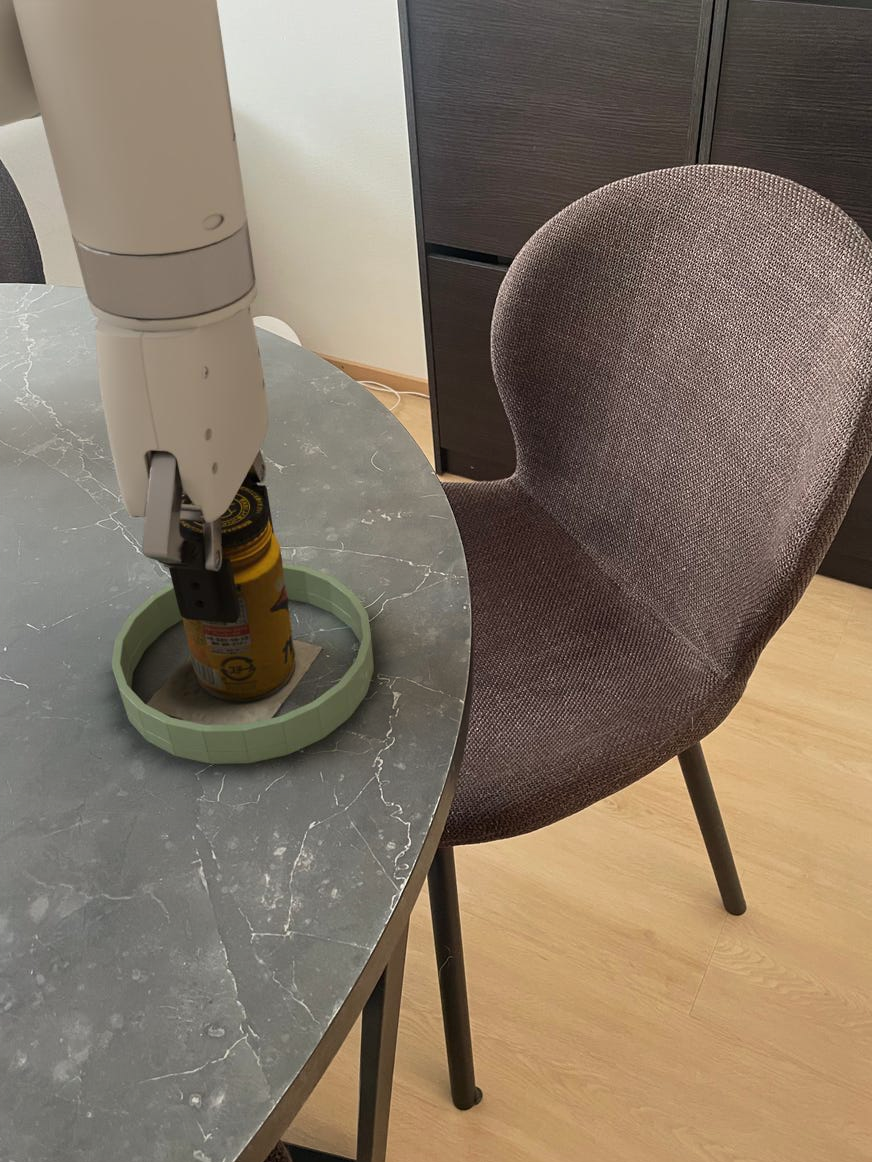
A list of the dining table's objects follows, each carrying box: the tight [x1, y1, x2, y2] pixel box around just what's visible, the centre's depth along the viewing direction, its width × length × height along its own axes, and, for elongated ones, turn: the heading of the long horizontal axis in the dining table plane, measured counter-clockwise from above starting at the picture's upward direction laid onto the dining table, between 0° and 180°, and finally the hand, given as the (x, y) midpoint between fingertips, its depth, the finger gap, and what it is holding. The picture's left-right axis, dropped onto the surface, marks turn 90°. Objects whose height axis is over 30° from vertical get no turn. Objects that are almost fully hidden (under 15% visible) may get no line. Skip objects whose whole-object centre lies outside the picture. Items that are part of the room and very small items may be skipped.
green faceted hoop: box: [111, 562, 375, 765], centre depth 63 cm, size 15×15×4 cm
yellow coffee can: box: [145, 486, 323, 725], centre depth 59 cm, size 7×8×12 cm
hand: (229, 576), depth 59 cm, fingers closed on yellow coffee can, 6 cm apart
